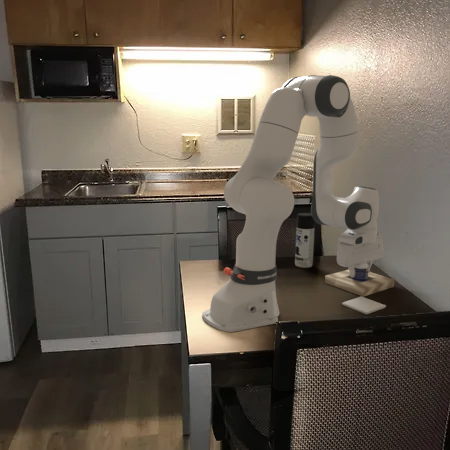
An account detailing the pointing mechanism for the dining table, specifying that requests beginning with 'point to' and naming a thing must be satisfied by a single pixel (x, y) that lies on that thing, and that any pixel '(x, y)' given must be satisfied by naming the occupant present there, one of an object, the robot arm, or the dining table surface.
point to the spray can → (304, 240)
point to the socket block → (359, 283)
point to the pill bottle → (361, 272)
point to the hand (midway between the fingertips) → (359, 274)
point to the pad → (364, 305)
